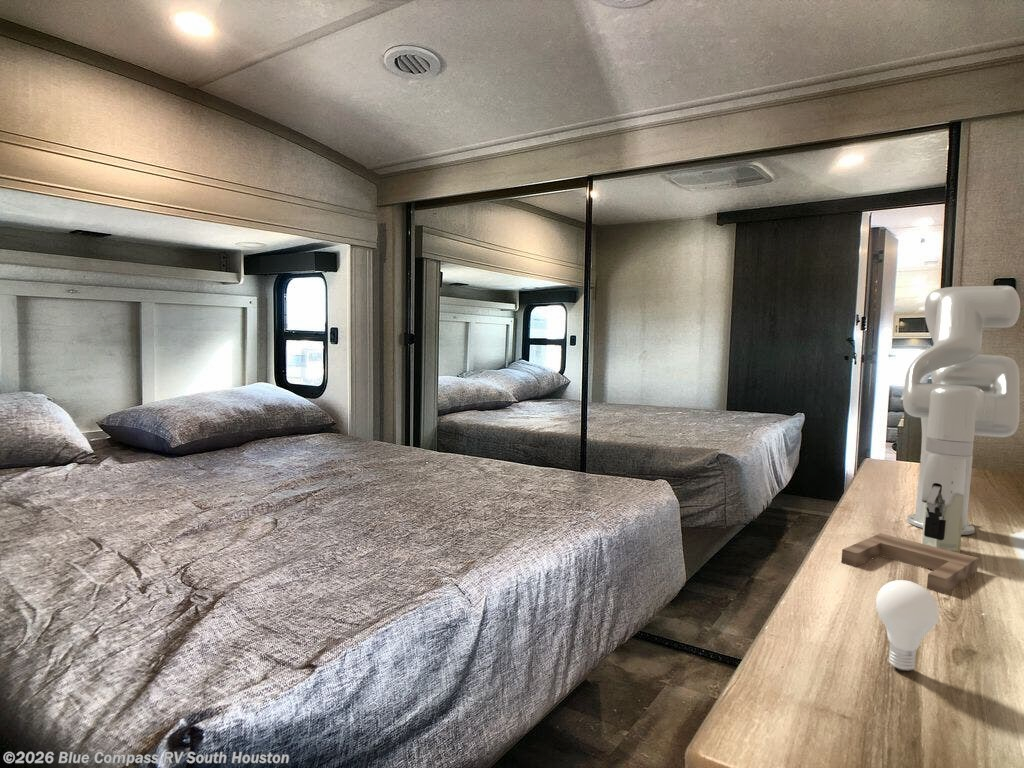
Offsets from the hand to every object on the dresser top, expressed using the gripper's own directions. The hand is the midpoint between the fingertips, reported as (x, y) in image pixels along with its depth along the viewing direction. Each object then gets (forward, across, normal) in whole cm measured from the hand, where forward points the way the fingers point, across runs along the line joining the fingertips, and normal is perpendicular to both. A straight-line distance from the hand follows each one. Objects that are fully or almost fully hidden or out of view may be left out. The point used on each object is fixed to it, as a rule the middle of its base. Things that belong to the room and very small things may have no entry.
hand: (940, 534), depth 116 cm
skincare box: (+4, 0, 0) cm, 4 cm away
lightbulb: (+4, +59, +12) cm, 60 cm away
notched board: (+3, +17, 0) cm, 17 cm away
